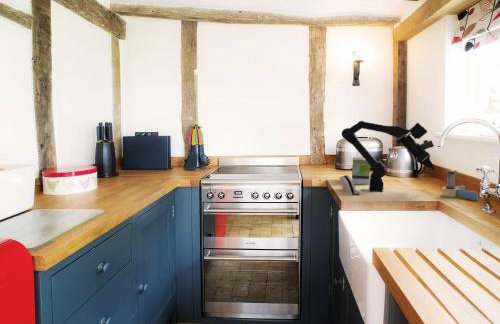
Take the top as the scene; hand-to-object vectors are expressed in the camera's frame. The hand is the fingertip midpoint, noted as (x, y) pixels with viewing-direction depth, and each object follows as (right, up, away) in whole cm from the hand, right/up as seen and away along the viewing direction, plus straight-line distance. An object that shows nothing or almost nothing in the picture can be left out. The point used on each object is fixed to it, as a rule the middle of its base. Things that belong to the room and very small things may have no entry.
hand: (433, 168), depth 188 cm
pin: (+8, -14, -2) cm, 16 cm away
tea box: (-26, -9, +36) cm, 46 cm away
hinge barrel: (+10, -14, -2) cm, 18 cm away
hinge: (-41, -13, +8) cm, 43 cm away
